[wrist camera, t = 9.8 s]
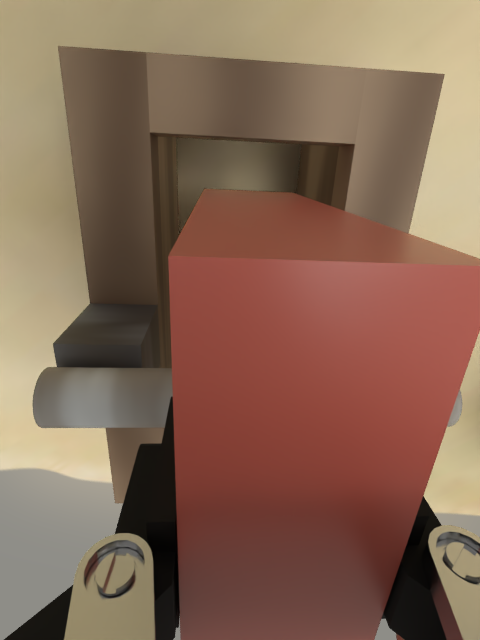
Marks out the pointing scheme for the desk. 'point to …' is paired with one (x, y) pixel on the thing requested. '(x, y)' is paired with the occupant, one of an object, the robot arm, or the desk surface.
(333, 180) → the tan hollow frame
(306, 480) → the red arch block
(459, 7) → the desk surface
